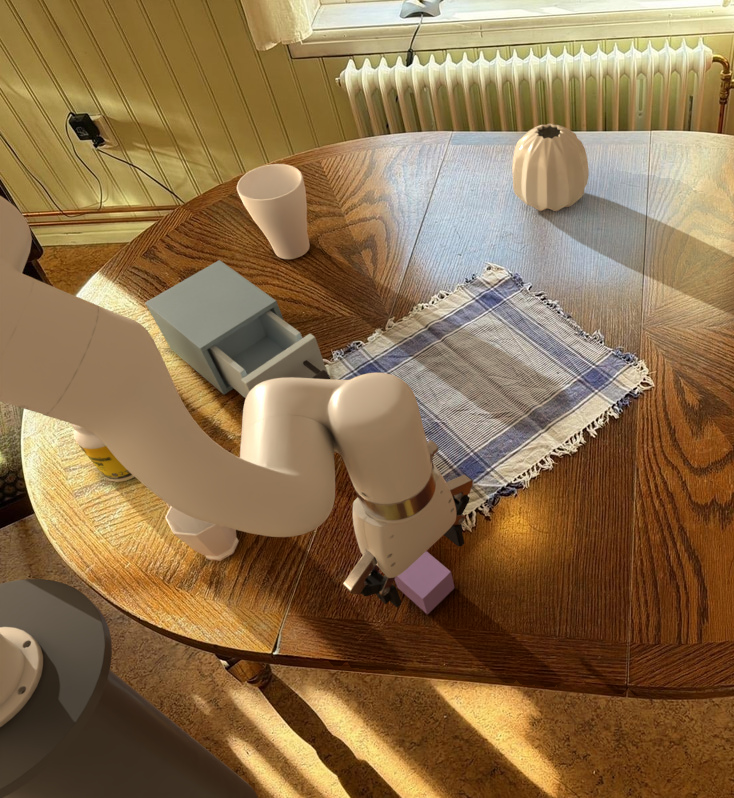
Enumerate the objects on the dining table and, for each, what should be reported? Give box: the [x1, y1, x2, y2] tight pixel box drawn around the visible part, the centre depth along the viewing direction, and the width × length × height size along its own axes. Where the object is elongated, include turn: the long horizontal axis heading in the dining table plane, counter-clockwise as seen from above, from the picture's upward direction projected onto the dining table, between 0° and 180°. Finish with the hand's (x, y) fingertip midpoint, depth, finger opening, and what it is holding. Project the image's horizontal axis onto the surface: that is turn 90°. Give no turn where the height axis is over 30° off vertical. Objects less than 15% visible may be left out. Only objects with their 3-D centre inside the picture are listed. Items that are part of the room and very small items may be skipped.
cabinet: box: [144, 259, 284, 395], centre depth 111 cm, size 15×13×10 cm
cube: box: [394, 550, 455, 615], centre depth 86 cm, size 4×5×4 cm
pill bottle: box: [69, 423, 135, 483], centre depth 96 cm, size 6×6×11 cm
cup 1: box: [164, 502, 240, 561], centre depth 90 cm, size 7×10×8 cm
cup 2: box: [236, 163, 311, 260], centre depth 125 cm, size 10×10×14 cm
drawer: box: [207, 310, 331, 399], centre depth 105 cm, size 18×11×8 cm, turn 49°
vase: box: [511, 123, 590, 212], centre depth 133 cm, size 14×14×13 cm
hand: (422, 567), depth 84 cm, fingers open, 9 cm apart
